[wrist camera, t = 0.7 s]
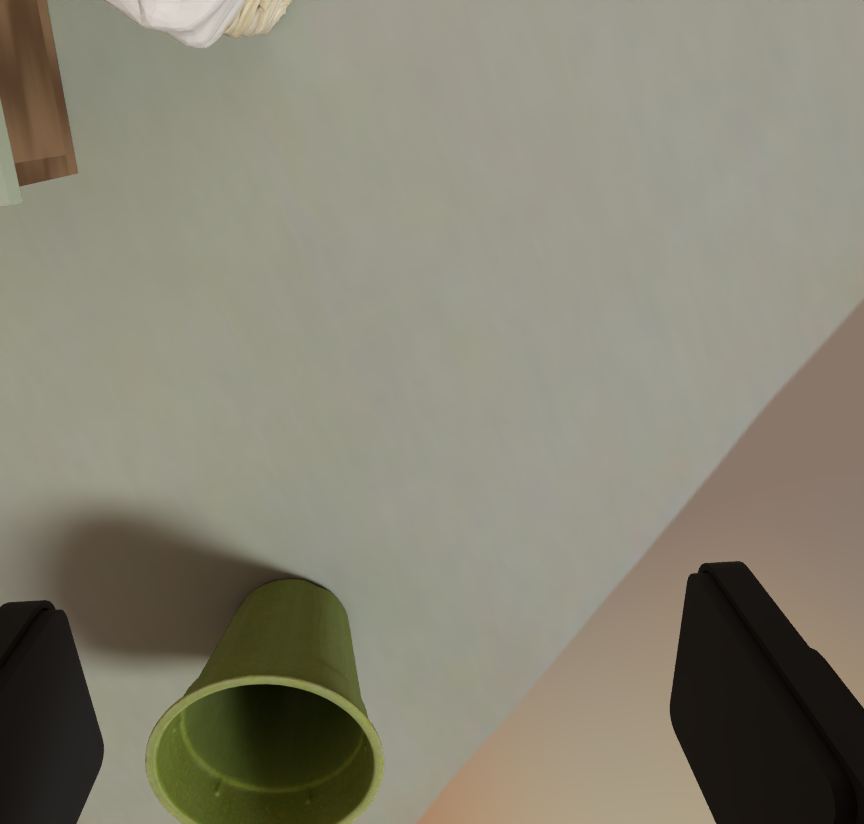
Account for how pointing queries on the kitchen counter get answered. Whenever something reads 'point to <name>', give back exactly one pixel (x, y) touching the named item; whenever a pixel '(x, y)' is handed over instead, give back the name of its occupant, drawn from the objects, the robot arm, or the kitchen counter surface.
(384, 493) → the kitchen counter surface
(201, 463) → the kitchen counter surface
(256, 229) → the kitchen counter surface
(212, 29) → the storage basket
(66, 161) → the walnut box
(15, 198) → the lid
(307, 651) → the plant pot
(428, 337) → the kitchen counter surface
